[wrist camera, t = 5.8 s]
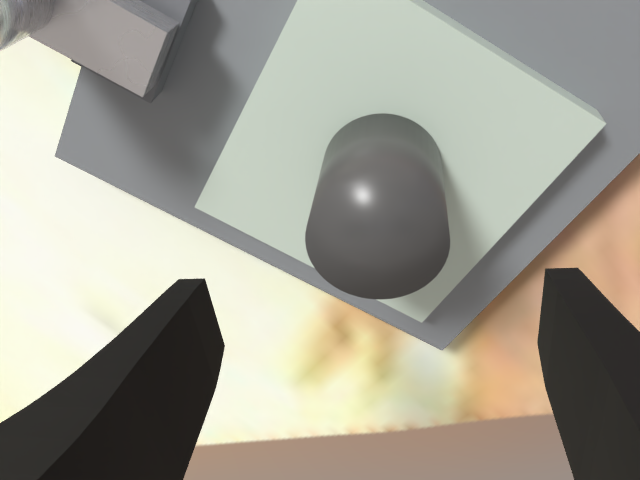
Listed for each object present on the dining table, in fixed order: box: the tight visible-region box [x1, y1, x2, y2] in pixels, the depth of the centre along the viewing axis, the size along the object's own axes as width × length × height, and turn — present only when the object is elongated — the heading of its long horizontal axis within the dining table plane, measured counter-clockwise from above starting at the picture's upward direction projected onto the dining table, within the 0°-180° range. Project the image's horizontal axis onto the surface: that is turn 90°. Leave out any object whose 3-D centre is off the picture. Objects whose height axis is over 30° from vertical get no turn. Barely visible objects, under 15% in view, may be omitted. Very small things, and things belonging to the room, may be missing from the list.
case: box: [55, 0, 640, 350], centre depth 18 cm, size 16×14×2 cm
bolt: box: [0, 0, 179, 97], centre depth 14 cm, size 6×2×4 cm, turn 61°
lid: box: [195, 0, 606, 323], centre depth 17 cm, size 9×9×5 cm
